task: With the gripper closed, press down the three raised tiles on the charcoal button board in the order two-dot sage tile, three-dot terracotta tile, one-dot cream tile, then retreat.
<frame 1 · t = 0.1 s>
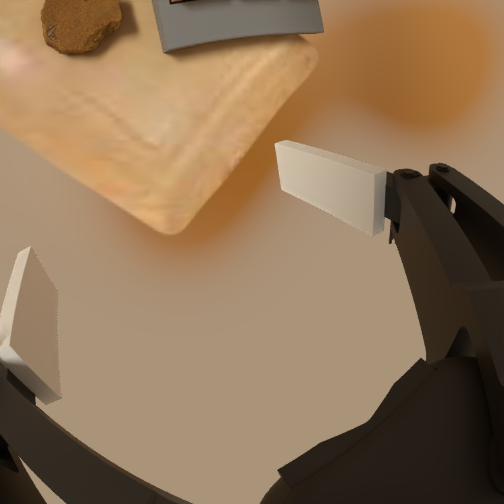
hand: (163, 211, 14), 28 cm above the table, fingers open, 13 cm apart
artifact: (77, 19, 24), on the table
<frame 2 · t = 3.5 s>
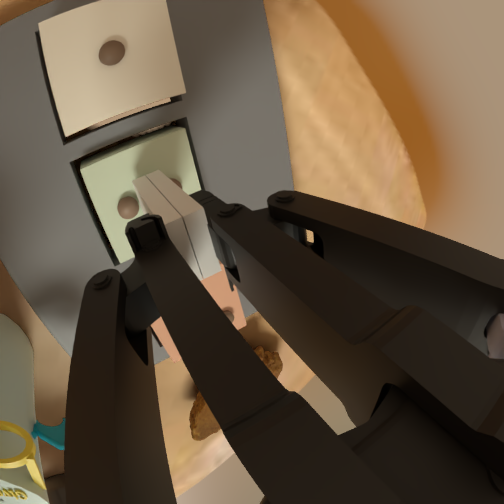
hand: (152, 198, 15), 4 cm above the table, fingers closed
tile one: (109, 58, 11), point 4 cm above the table, slide at 0.0 cm
tile three: (191, 304, 20), point 4 cm above the table, slide at 0.0 cm
tile two: (144, 191, 17), point 2 cm above the table, slide at 1.6 cm, touching gripper
button board: (138, 183, 18), on the table
artifact: (230, 375, 33), on the table
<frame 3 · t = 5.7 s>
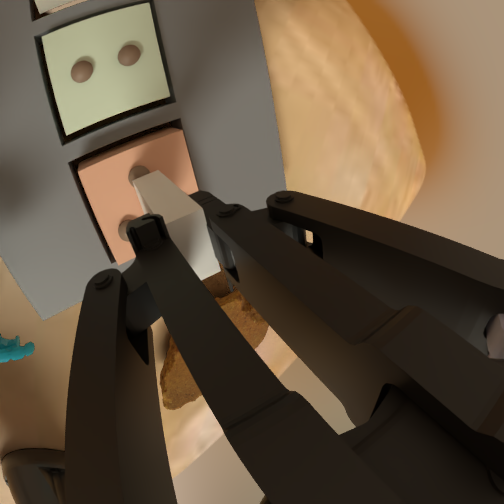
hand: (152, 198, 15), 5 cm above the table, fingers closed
tile three: (142, 193, 17), point 3 cm above the table, slide at 1.0 cm, touching gripper
tile two: (103, 67, 13), point 2 cm above the table, slide at 1.7 cm
button board: (102, 71, 14), on the table
artifact: (209, 331, 29), on the table
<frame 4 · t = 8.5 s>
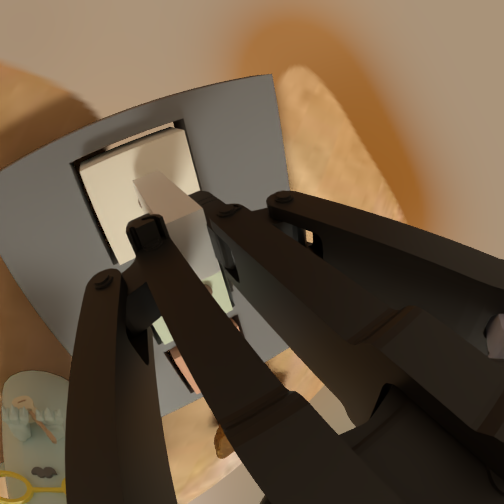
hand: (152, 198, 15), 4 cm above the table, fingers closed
tile one: (144, 193, 17), point 2 cm above the table, slide at 1.2 cm, touching gripper
tile three: (209, 353, 26), point 2 cm above the table, slide at 1.7 cm
tile two: (180, 289, 22), point 2 cm above the table, slide at 1.7 cm
button board: (172, 276, 23), on the table
artifact: (245, 404, 38), on the table
character sculpture: (39, 390, 21), on the table
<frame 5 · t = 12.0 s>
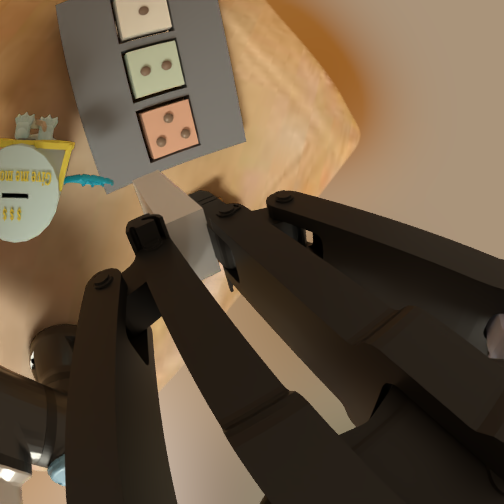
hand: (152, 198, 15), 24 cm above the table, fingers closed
tile one: (141, 14, 25), point 2 cm above the table, slide at 1.7 cm
tile three: (168, 128, 35), point 2 cm above the table, slide at 1.7 cm
tile two: (153, 69, 30), point 2 cm above the table, slide at 1.7 cm
button board: (150, 71, 31), on the table
character sculpture: (38, 156, 29), on the table
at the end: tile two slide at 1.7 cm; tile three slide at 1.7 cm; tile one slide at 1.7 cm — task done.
